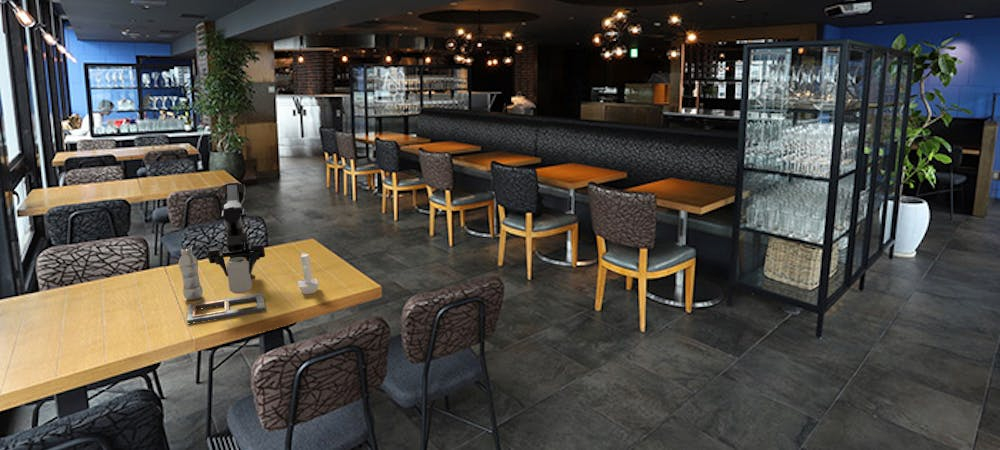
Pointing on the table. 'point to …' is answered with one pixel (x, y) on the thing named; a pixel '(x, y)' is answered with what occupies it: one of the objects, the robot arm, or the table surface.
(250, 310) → the rail plate
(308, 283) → the figurine
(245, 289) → the can
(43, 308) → the table surface
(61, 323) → the table surface
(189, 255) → the plastic bottle
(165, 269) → the table surface
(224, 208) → the robot arm
